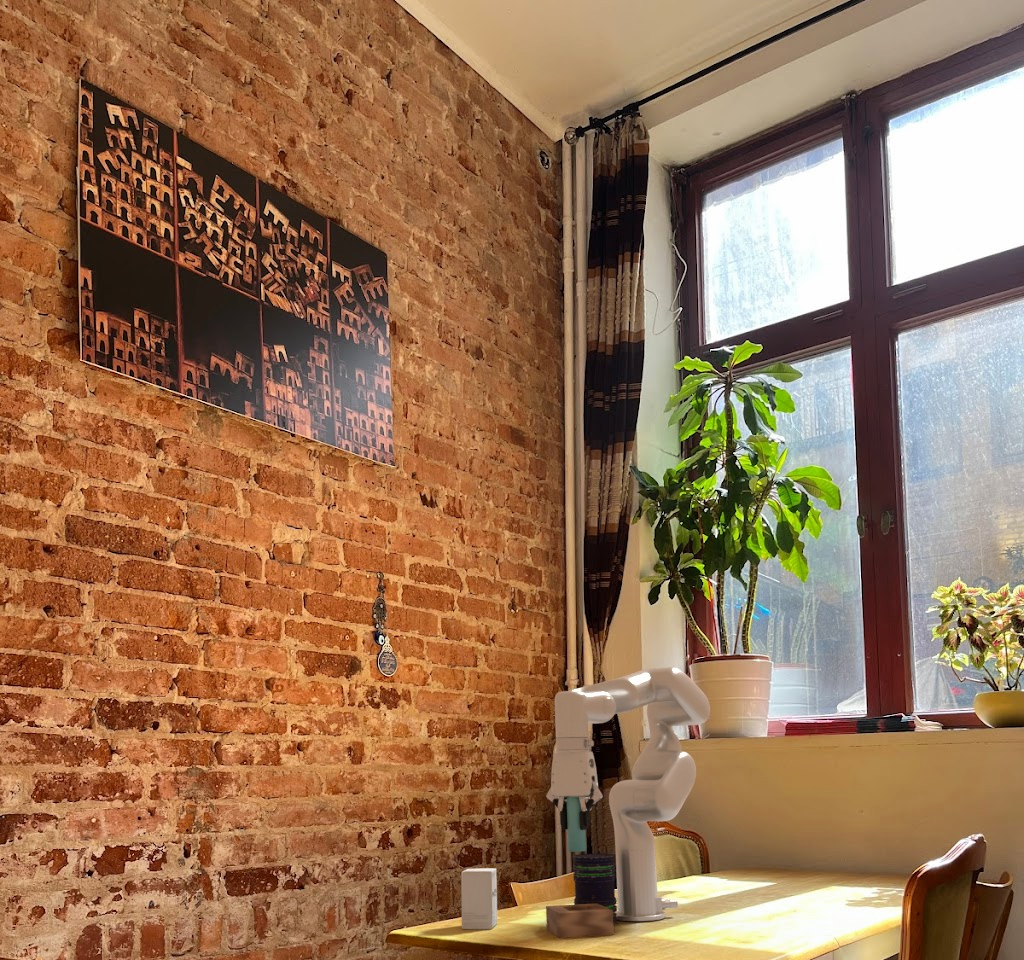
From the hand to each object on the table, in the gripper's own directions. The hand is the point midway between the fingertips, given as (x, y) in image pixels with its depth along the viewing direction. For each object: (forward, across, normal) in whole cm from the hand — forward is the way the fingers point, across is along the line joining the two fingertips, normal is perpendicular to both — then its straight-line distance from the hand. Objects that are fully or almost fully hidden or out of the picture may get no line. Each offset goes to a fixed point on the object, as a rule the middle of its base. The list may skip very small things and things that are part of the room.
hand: (575, 828), depth 254 cm
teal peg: (+5, 0, 0) cm, 5 cm away
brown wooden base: (+22, 0, 0) cm, 22 cm away
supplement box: (+22, +25, +2) cm, 33 cm away
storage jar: (+22, +2, -13) cm, 26 cm away
